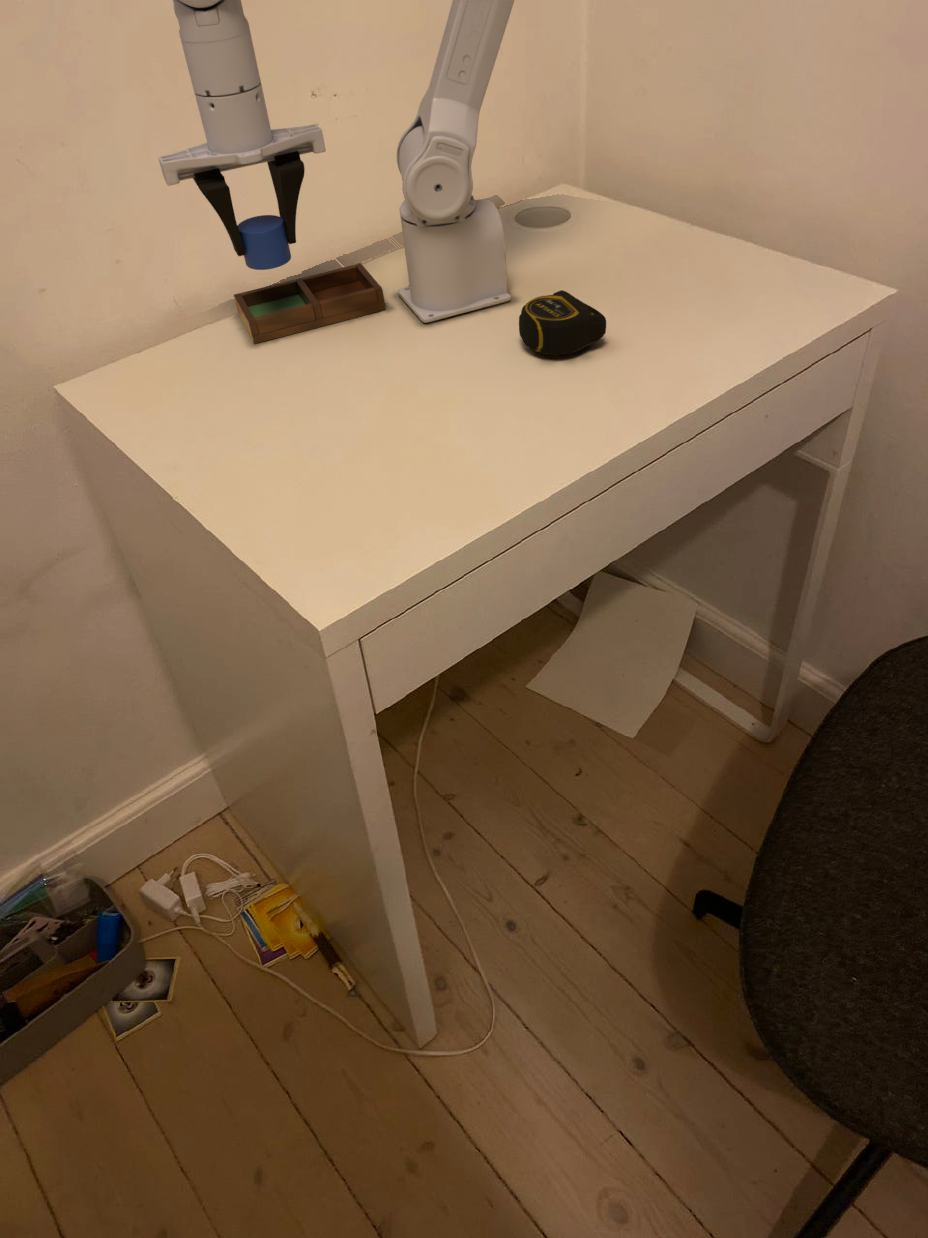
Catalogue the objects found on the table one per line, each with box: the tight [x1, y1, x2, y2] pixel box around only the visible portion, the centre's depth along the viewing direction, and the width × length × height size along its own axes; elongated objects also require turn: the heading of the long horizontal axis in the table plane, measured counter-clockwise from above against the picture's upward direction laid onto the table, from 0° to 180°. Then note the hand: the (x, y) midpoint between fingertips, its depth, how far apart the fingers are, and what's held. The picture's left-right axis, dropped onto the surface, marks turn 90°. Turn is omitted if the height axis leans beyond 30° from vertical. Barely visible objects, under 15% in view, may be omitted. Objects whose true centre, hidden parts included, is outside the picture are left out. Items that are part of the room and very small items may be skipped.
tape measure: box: [518, 290, 607, 356], centre depth 84 cm, size 7×7×4 cm
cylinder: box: [237, 214, 292, 271], centre depth 88 cm, size 4×4×4 cm
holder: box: [233, 262, 386, 345], centre depth 94 cm, size 14×7×2 cm, turn 112°
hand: (264, 246), depth 89 cm, fingers closed on cylinder, 4 cm apart
